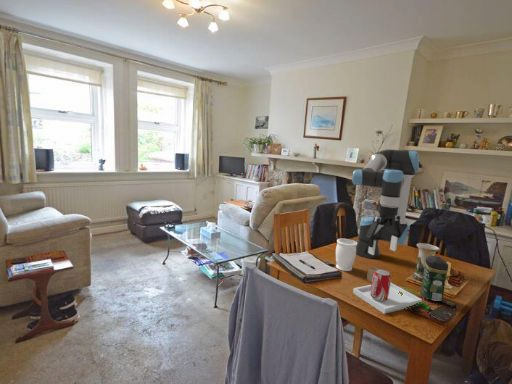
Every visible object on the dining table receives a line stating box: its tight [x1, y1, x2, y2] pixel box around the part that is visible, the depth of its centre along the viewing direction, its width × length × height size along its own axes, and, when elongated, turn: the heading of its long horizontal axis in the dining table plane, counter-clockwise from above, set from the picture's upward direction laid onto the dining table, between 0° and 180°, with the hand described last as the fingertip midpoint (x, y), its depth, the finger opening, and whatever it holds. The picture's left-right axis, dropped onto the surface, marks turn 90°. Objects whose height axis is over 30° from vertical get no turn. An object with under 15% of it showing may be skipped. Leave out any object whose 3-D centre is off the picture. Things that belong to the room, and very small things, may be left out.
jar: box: [335, 238, 357, 272], centre depth 152 cm, size 11×10×15 cm
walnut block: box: [366, 266, 379, 284], centre depth 139 cm, size 5×5×6 cm
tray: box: [352, 282, 423, 315], centre depth 124 cm, size 22×17×2 cm
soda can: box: [370, 268, 392, 301], centre depth 121 cm, size 7×7×12 cm
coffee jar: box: [420, 255, 449, 302], centre depth 126 cm, size 10×8×19 cm
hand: (382, 252), depth 127 cm, fingers open, 13 cm apart
